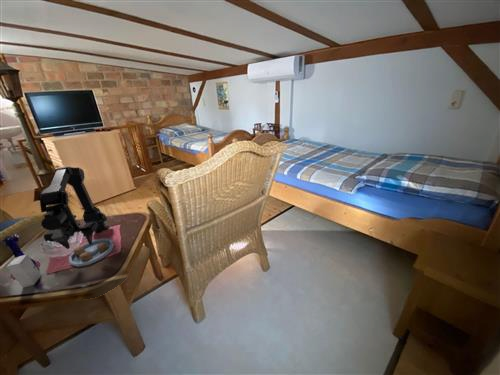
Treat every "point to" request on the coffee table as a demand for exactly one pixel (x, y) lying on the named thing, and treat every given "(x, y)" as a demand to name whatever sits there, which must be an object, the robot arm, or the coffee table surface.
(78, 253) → the bead
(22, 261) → the skincare box
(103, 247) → the wooden rounded peg
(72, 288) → the coffee table surface
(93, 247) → the groove tray
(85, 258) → the bead
